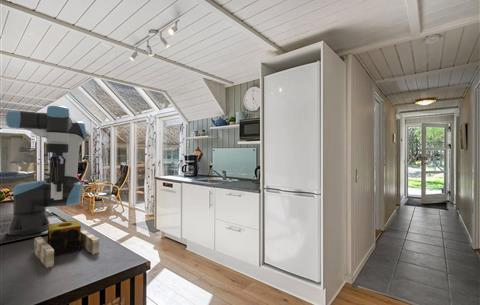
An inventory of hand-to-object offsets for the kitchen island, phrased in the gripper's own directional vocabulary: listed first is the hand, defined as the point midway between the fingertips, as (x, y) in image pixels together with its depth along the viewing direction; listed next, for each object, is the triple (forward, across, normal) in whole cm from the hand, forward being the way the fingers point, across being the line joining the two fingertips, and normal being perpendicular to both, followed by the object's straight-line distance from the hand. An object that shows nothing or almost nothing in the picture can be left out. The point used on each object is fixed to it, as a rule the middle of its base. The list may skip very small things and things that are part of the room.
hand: (56, 198), depth 101 cm
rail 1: (+19, +15, -7) cm, 25 cm away
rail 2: (+19, +15, +7) cm, 25 cm away
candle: (+19, +11, 0) cm, 22 cm away
